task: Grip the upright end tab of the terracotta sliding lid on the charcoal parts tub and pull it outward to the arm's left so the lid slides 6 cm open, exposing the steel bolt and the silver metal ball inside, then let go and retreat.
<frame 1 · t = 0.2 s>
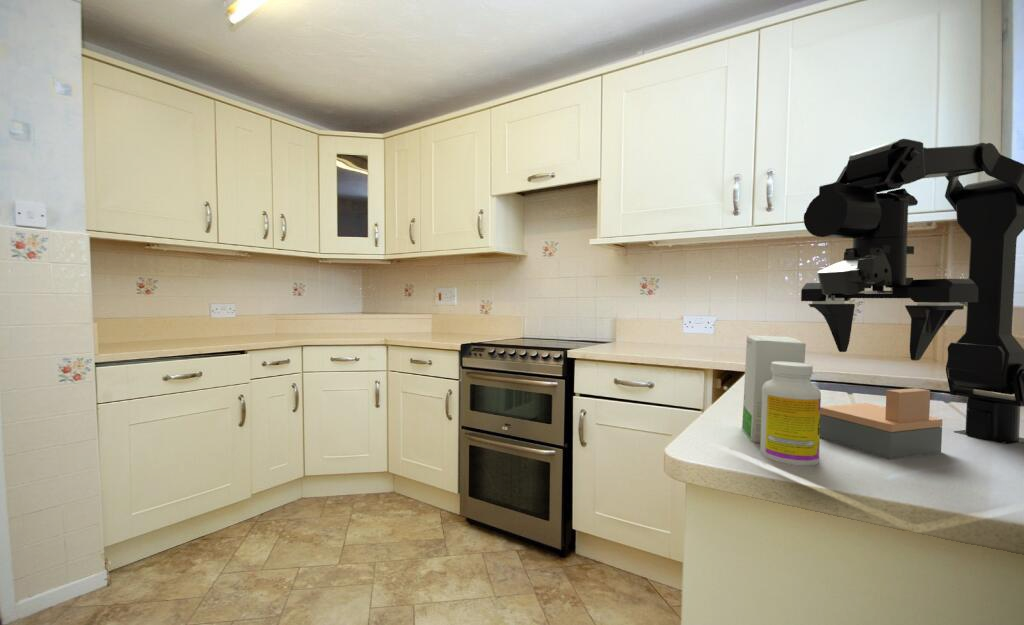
hand: (876, 355, 62), 14 cm above the counter, tool pointing down, fingers open, 9 cm apart
supplement bottle: (788, 461, 60), on the counter
lid: (877, 402, 65), point 7 cm above the counter, slide at 0.0 cm
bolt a: (871, 438, 68), point 1 cm above the counter, touching tub
skincare box: (770, 441, 69), on the counter
tub: (876, 447, 66), on the counter
silver metal ball: (852, 440, 67), point 1 cm above the counter, touching tub
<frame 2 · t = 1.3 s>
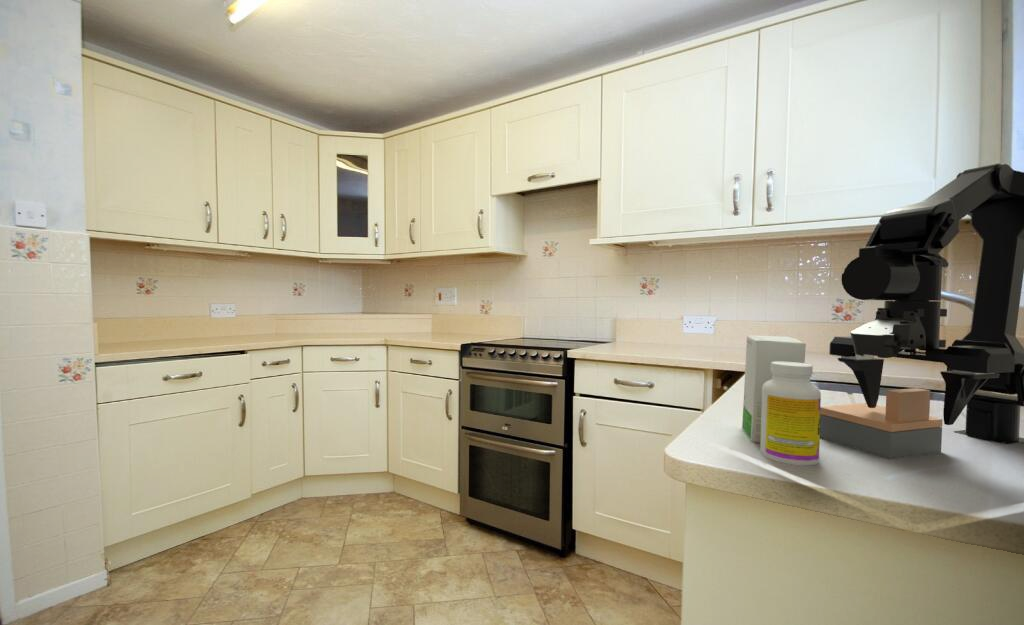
hand: (907, 415, 62), 6 cm above the counter, tool pointing down, fingers open, 9 cm apart
nothing on the counter moved.
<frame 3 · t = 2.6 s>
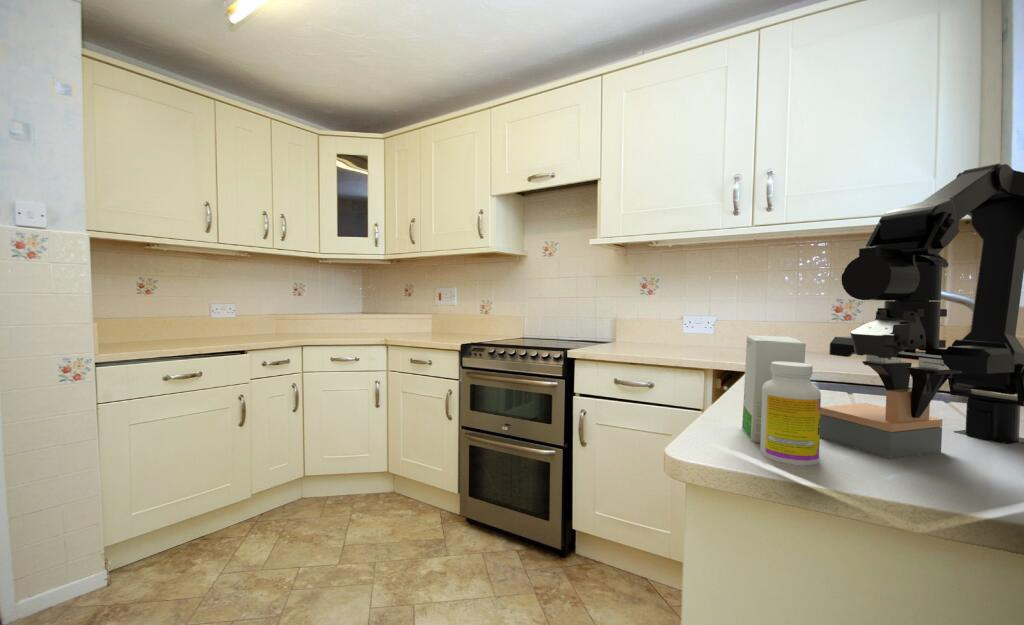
hand: (907, 415, 62), 6 cm above the counter, tool pointing down, fingers closed on lid, 2 cm apart
lid: (877, 402, 65), point 7 cm above the counter, slide at 0.0 cm, touching gripper
everything else where it was.
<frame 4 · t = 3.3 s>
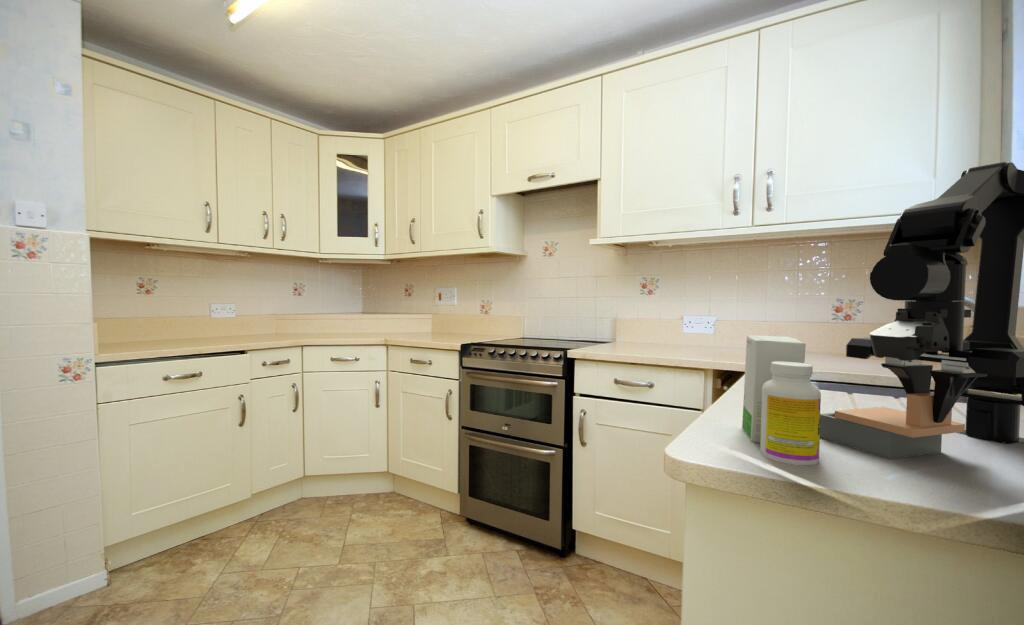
hand: (928, 420, 60), 6 cm above the counter, tool pointing down, fingers closed on lid, 2 cm apart
lid: (896, 406, 63), point 7 cm above the counter, slide at 2.5 cm, touching gripper
everything else where it was.
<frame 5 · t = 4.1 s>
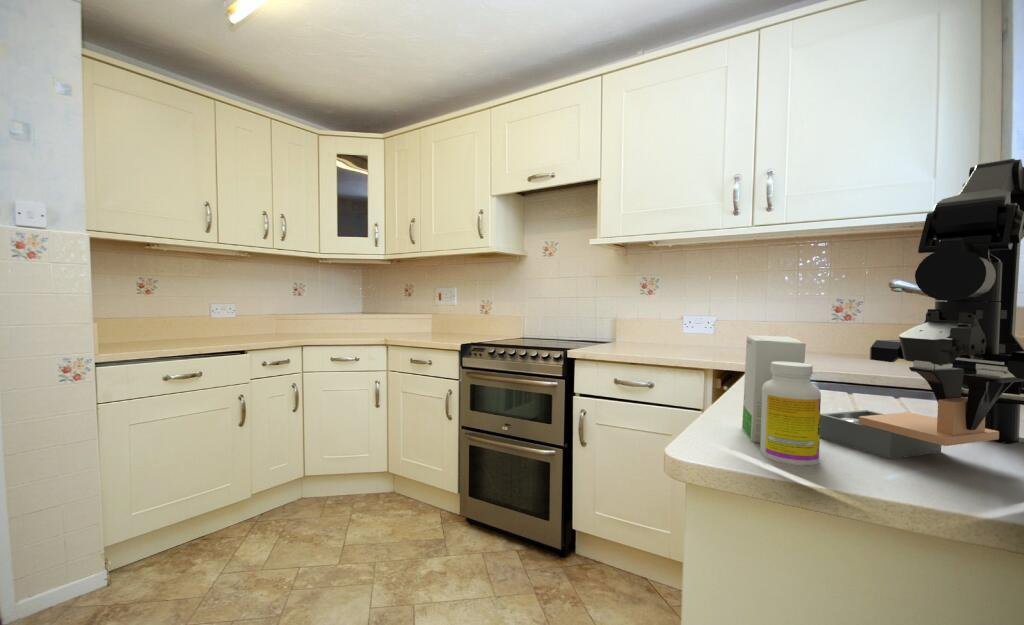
hand: (961, 427, 56), 6 cm above the counter, tool pointing down, fingers closed on lid, 2 cm apart
lid: (925, 412, 60), point 7 cm above the counter, slide at 5.9 cm, touching gripper
everything else where it was.
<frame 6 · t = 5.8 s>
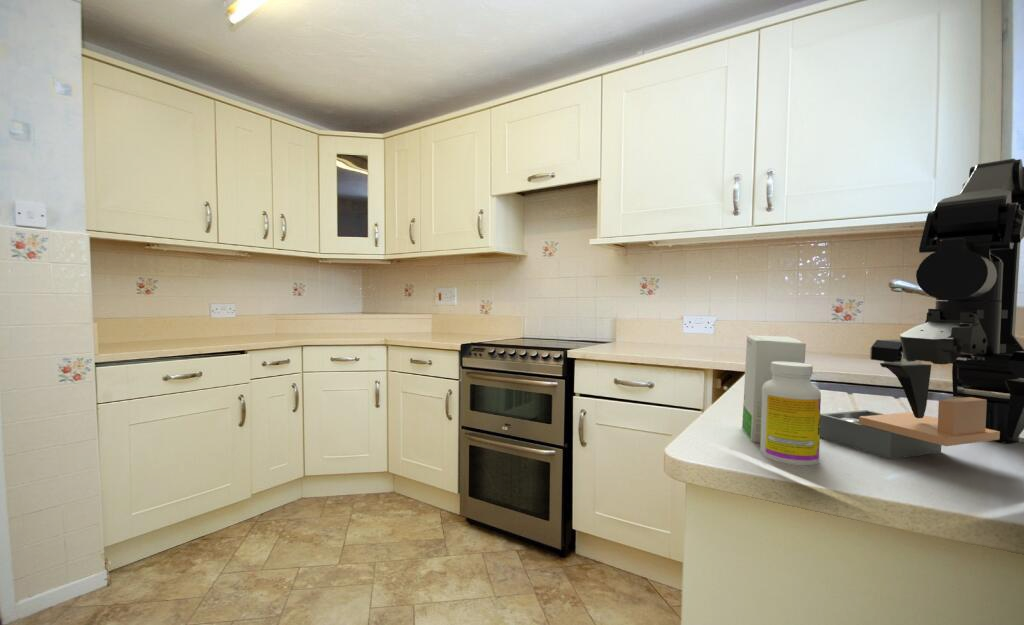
hand: (962, 427, 56), 6 cm above the counter, tool pointing down, fingers open, 9 cm apart
lid: (926, 412, 60), point 7 cm above the counter, slide at 5.9 cm
everything else where it was.
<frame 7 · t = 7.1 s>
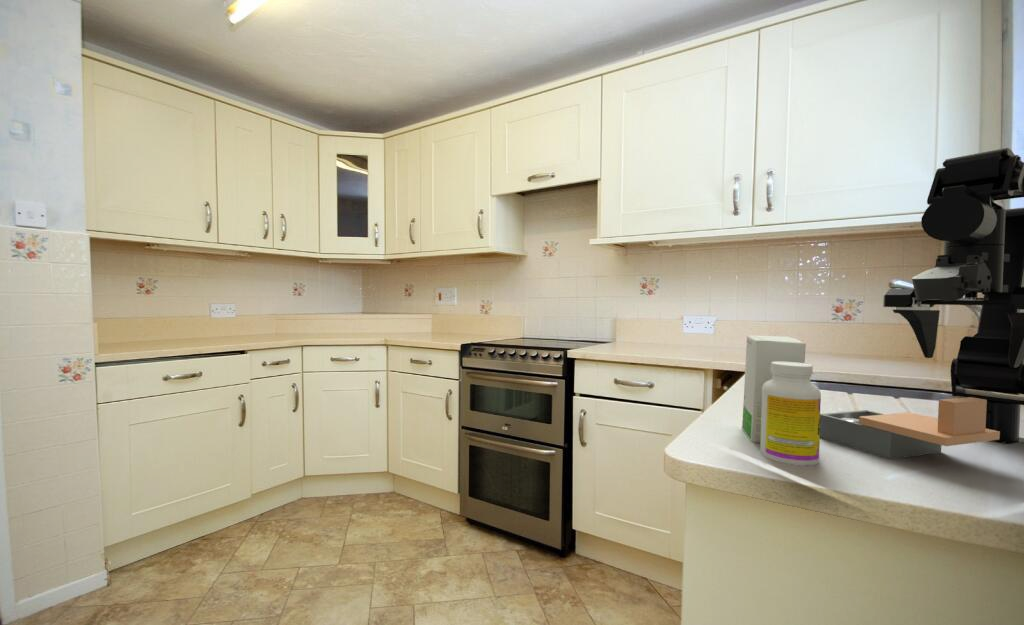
hand: (968, 362, 62), 13 cm above the counter, tool pointing down, fingers open, 9 cm apart
nothing on the counter moved.
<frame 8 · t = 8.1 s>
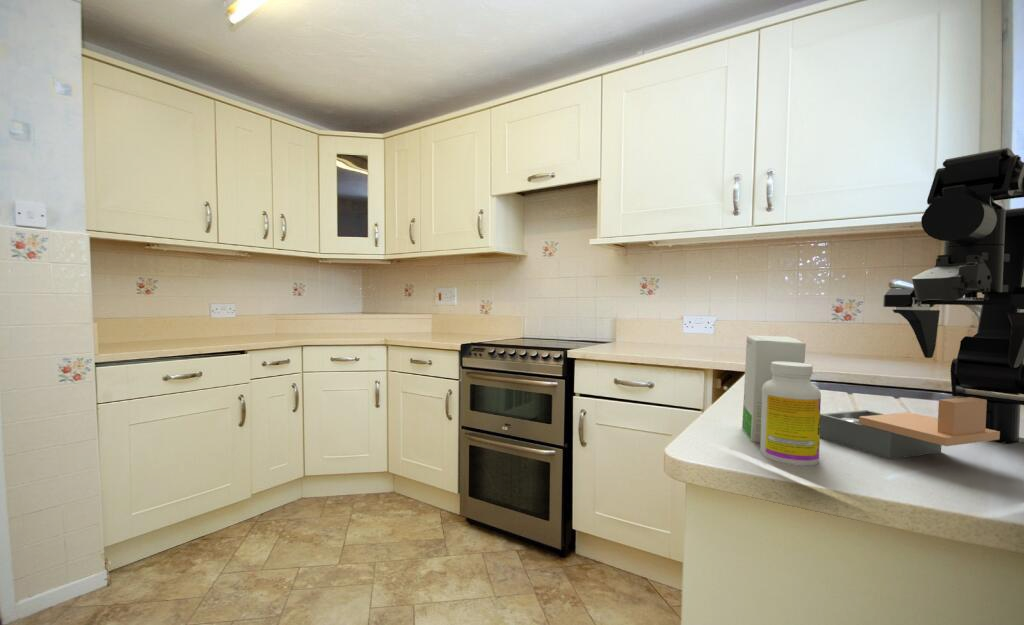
hand: (968, 362, 62), 13 cm above the counter, tool pointing down, fingers open, 9 cm apart
nothing on the counter moved.
at the end: lid slide at 5.9 cm; the gripper is holding nothing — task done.
